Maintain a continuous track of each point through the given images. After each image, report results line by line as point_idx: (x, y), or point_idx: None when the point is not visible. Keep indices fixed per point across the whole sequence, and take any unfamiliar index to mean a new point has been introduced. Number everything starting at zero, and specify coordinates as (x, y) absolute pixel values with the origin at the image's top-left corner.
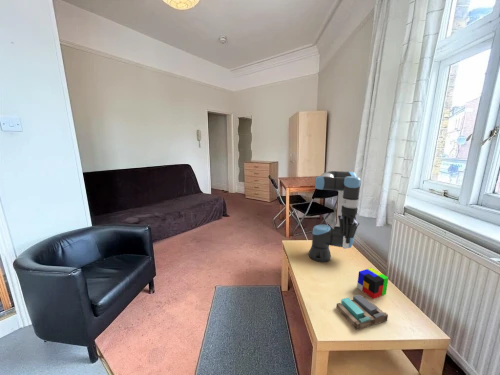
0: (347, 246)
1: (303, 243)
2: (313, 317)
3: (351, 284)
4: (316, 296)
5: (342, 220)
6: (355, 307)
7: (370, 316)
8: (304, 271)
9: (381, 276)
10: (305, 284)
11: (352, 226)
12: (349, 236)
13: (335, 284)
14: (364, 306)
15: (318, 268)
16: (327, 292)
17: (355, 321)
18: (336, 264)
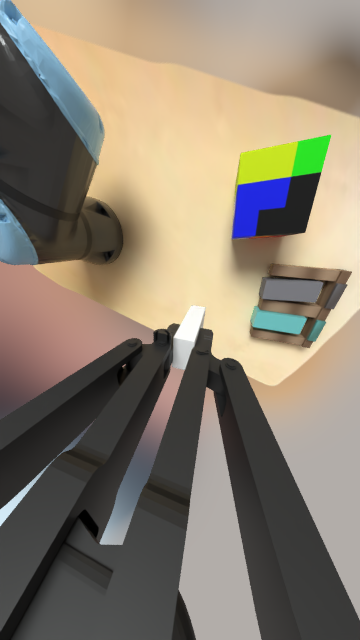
0: (203, 318)
1: None
2: None
3: (216, 244)
4: None
5: (4, 479)
6: (286, 322)
7: (317, 309)
8: (144, 309)
9: (303, 166)
10: None
11: (277, 633)
12: (225, 400)
13: (200, 282)
14: (296, 300)
15: (142, 275)
16: (212, 315)
17: (303, 345)
18: (137, 212)
